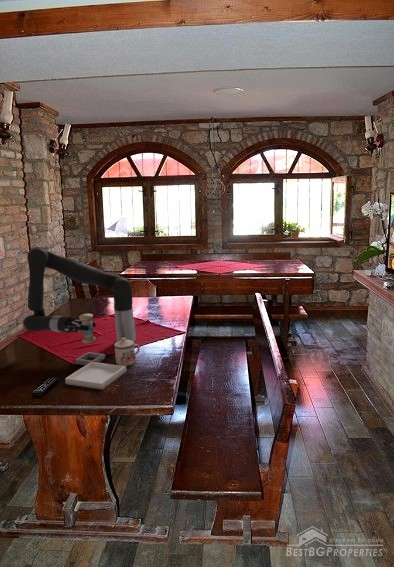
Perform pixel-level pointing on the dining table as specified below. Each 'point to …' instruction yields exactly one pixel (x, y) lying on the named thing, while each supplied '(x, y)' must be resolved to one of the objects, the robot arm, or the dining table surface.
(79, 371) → the tray
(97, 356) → the socket
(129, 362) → the teacup with lid
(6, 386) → the dining table surface
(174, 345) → the dining table surface
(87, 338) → the spool
